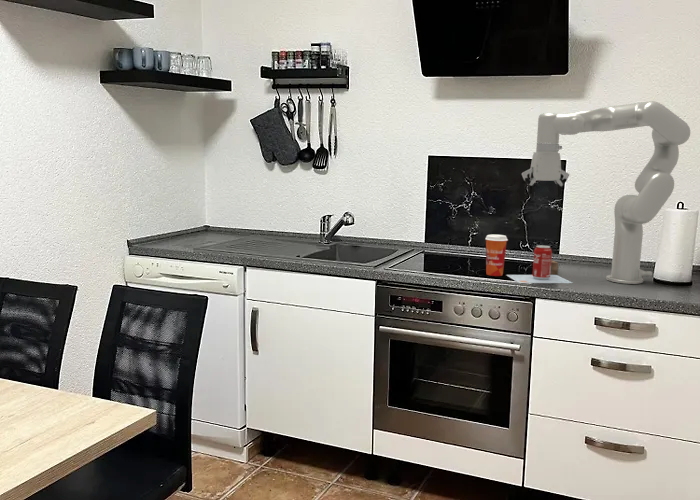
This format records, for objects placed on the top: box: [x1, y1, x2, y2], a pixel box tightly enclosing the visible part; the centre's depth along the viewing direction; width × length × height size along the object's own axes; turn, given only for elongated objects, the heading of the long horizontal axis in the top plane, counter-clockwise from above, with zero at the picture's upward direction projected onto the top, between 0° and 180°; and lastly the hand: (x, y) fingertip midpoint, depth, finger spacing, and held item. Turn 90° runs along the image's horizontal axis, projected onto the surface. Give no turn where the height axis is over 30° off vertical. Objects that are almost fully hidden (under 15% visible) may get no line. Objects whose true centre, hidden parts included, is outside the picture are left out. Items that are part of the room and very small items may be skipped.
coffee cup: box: [484, 233, 509, 277], centre depth 260 cm, size 8×8×15 cm
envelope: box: [505, 274, 573, 284], centre depth 254 cm, size 20×15×1 cm
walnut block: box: [550, 259, 559, 275], centre depth 266 cm, size 5×5×5 cm
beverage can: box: [532, 244, 553, 280], centre depth 254 cm, size 6×6×12 cm
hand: (544, 196), depth 250 cm, fingers open, 9 cm apart
